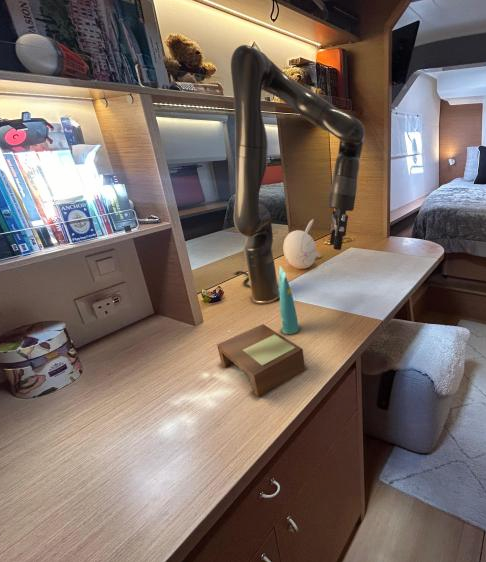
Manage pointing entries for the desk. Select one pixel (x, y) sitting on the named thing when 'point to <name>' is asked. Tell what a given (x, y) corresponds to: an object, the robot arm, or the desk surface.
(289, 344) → the brown wooden table
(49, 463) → the desk surface
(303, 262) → the stuffed toy
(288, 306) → the tube
